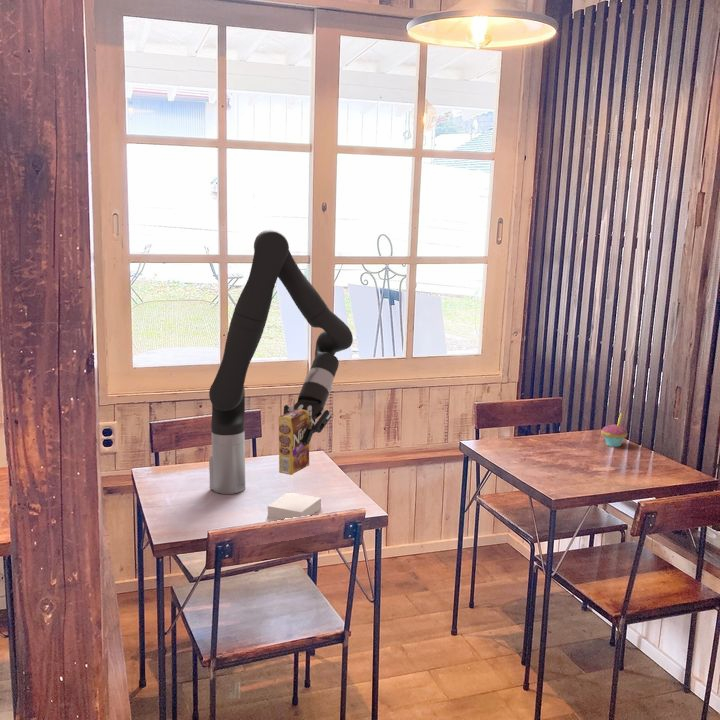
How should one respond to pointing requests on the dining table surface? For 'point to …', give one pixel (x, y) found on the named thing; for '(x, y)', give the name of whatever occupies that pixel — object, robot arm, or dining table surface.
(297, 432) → the candy box
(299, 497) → the plate
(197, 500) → the dining table surface
